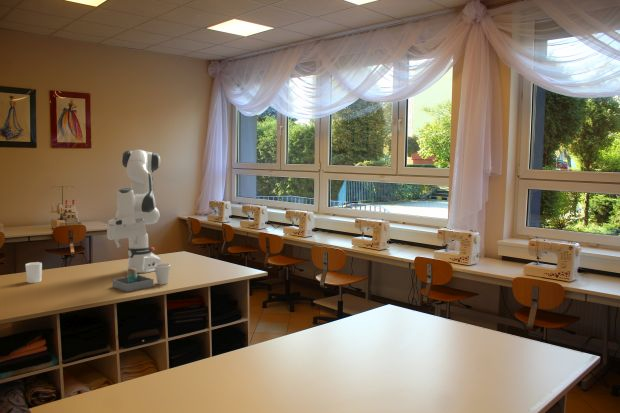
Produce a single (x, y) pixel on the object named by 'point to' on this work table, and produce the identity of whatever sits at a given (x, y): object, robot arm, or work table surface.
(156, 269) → the dixie cup
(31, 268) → the white cup
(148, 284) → the bin
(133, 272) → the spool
